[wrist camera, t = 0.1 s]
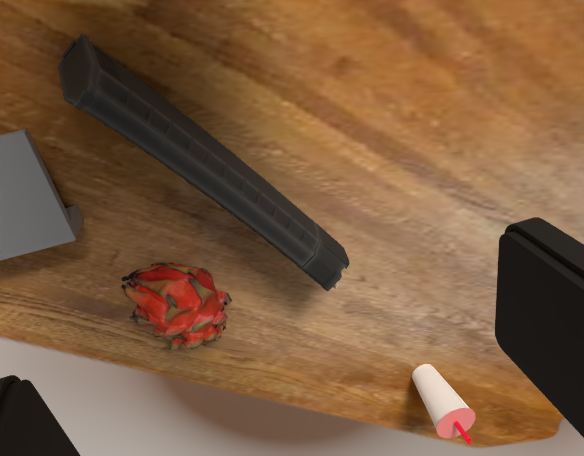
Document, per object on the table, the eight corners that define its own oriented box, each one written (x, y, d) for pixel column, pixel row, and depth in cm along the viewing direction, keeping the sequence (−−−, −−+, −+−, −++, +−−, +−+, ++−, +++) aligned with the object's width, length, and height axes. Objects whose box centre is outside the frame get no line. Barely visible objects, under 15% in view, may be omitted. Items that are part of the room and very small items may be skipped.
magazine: (-6, 55, 29) (343, 346, 35) (24, 13, 29) (375, 317, 35) (99, 70, 46) (323, 265, 52) (120, 43, 45) (344, 244, 52)
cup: (423, 353, 65) (473, 423, 54) (446, 366, 67) (498, 435, 57) (398, 379, 66) (441, 452, 56) (421, 391, 68) (467, 463, 58)
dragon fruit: (222, 305, 55) (133, 251, 51) (260, 284, 49) (162, 221, 45) (193, 372, 50) (91, 317, 46) (231, 358, 44) (118, 293, 40)
